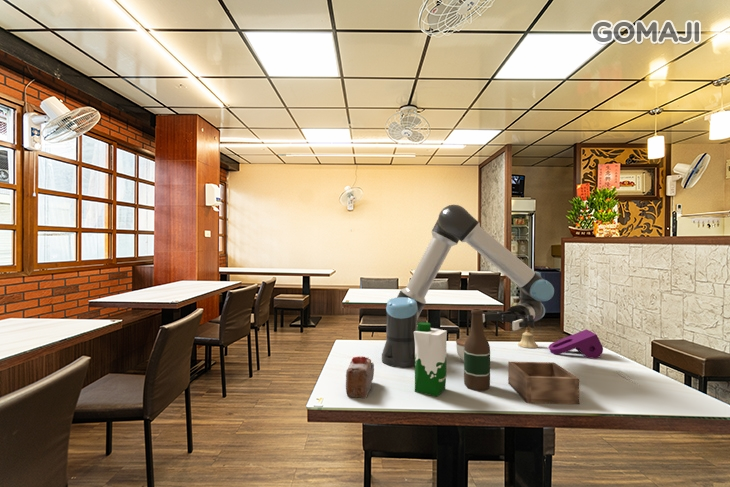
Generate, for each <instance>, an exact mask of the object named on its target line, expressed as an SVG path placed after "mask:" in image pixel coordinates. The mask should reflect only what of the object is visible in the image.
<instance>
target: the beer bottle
mask: <svg viewBox="0 0 730 487" xmlns="http://www.w3.org/2000/svg"><path fill="white" fill-rule="evenodd" d="M470 311H471V312H470V313H471V321H470V322H471V325H470V333H469V335H468V337H466V338H467V339H466V342H465V346H464V362H463V383H464V386H465V387H466V388H467V389H469V390H473V391H475V392H476V391H477V392H485V391H487V390H489V389H490V387H491V346H490V343H489V340H488V339H487V338H486V336H485V333H484V331H485V330H484V322H483V312H484V310H483V309H481V308H480V309H479V308H472V309H471V310H470Z"/></svg>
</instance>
